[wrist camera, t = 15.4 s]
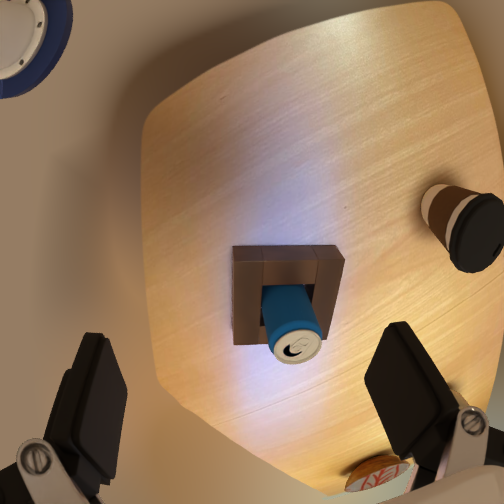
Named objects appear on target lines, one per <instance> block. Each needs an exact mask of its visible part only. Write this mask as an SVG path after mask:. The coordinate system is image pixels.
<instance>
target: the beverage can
mask: <svg viewBox="0 0 504 504" xmlns="http://www.w3.org/2000/svg"><path fill="white" fill-rule="evenodd" d="M261 307H262V313H263V318H264V323H265V329H266V334H267V339H268V345H269V348H270V350H271V352H272V353H273V354H274V355H275V357H276V358H277V360H279V361H280V362H282V363H285V364H300V363H303V362H306V361H308V360H310V359H312V358H313V357H314V356H315V355H316V354H317V353H318V352H319V351H320V349H321V345H322V342H321V341H322V331H321V328H320V325H319V323H318V320H317V318H316V315H315V313H314V310H313V307H312V305H311V302H310V300H309V297H308V295H307V292H306V290H305V287H304V285H303V284H294V285H262V297H261Z"/></svg>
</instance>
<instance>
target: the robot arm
mask: <svg viewBox="0 0 504 504" xmlns="http://www.w3.org/2000/svg"><path fill="white" fill-rule="evenodd" d="M47 25H48V14H47V9H46V7H45V5H44V3H43V2H42V1H41V0H11V1H7V0H0V79H8V78H11V77H14V76H15V75H17V74H19V73H20V72H21V71H22V70H24V69H25V68H26V67H27V66H28V65H29V64H30V63H31V61H32V60H33V59H34V57H35V56H36V54H37V53H38V51H39V49H40V47H41V45H42V43H43V41H44V38H45V35H46V31H47ZM364 381H365V385H366V387H367V389H368V392H369V394H370V396H371V399H372V401H373V403H374V406H375V408H376V410H377V413H378V415H379V417H380V420H381V422H382V424H383V427H384V429H385V432H386V434H387V437H388V439H389V441H390V444H391V446H392V449H393V451H394V453H395V454H396V455H397V456H398V455H399V458H400V460H401V461H402V460H405V459H408V458H411V457H414V460H415V465H414V468H413V471H412V474H411V476H410V479H409V482H408V484H407V487H406V490H405V492H404V494H403V495H401V496H398V497H395V498H392V499H390V500H387V501H384V502H381V503H378V504H504V432H503V431H501V430H498V429H495V428H493V427H490V426H489V421H488V418H487V416H486V414H485V413H484V412H483V411H482V410H481V409H479V408H477V407H475V406H466V407H464V408H462V409H461V410H460V409H459V408H458V407H459V406H460V405H459V403H458V402H457V400H456V398H455V397H454V395H453V393H452V391H451V390H450V388H449V386H448V385H447V383H446V382H445V380H444V378H443V377H442V375H441V373H440V372H439V370H438V369H437V367H436V365H435V364H434V362H433V361H432V359H431V358H430V356H429V355H428V353H427V351H426V350H425V348H424V347H423V345H422V344H421V342H420V341H419V339H418V338H417V336H416V335H415V333H414V332H413V330H412V329H411V327H410V326H409V324H408V323H407V322H405V321H401V322H394V323H390V324H389V325H388V327H386V328H385V330H384V332H383V334H382V337H381V339H380V342H379V344H378V346H377V349H376V351H375V354H374V356H373V358H372V360H371V363H370V365H369V367H368V369H367V371H366V374H365V377H364ZM126 401H127V387H126V384H125V381H124V379H123V376H122V374H121V371H120V368H119V366H118V363H117V360H116V358H115V355H114V352H113V349H112V346H111V343H110V340H109V339H108V338H105V337H104V335H103V334H102V333H88V332H86V333H85V335H84V336H83V339H82V341H81V344H80V347H79V349H78V352H77V355H76V357H75V360H74V362H73V365H72V368H71V369H68V370H66V372H65V373H64V376H63V378H62V381H61V384H60V387H59V390H58V392H57V395H56V398H55V401H54V405H53V408H52V411H51V414H50V417H49V420H48V424H47V427H46V430H45V434H44V437H43V440H42V439H38V438H33V439H30V440H27V441H25V442H24V443H22V445H21V446H20V447H19V449H18V451H17V455H16V462H15V463H13V464H12V465H10V466H8V467H6V468H4V469H2V470H1V471H0V504H105V503H104V502H103V500H102V499H101V497H100V496H99V494H98V493H99V488H100V484H104V485H110V479H114V478H115V475H116V467H117V457H118V451H119V443H120V437H121V430H122V424H123V418H124V412H125V406H126Z"/></svg>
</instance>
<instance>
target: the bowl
mask: <svg viewBox="0 0 504 504" xmlns="http://www.w3.org/2000/svg"><path fill="white" fill-rule="evenodd" d="M409 466H410V464H409V463H408V462H407V461H405V460H402V461H401V460H400V458H399V457H396V456H389V455H380V456H376V457H373V458H371V459H368V460H366V461H364V462H363V463H361V464H360V465H359V466H358V467H357V468H356V469H355V470H354V471H353V472H352V473H351V475H350V476H349V478H348V480H347V482H346V486H345V491H346V492H357V491H362V490H366V489H370V488H373V487H376V486H378V485H381V484H383V483H386V482H388V481H390V480H392V479H393V478H395V477H397V476H399V475H400V474H402V473H403V472H404V471H406V470H407V469H408V468H409Z"/></svg>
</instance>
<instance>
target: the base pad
mask: <svg viewBox="0 0 504 504" xmlns="http://www.w3.org/2000/svg"><path fill="white" fill-rule="evenodd" d="M344 262H345V259H344V257H343V256H342V254H341V253H340V251H339V250H338V248H337V247H336V246H335V245H311V246H310V245H308V246H233V256H232V329H233V343H234V345H256V344H268V339H267V334H266V329H265V323H264V318H263V313H262V309H261V297H262V285H294V284H305V290H306V292H307V295H308V297H309V300H310V302H311V305H312V307H313V310H314V313H315V315H316V318H317V320H318V323H319V325H320V328H321V331H322V340H327V336H328V332H329V328H330V324H331V320H332V316H333V312H334V308H335V304H336V299H337V295H338V290H339V286H340V281H341V277H342V272H343V267H344Z"/></svg>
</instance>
